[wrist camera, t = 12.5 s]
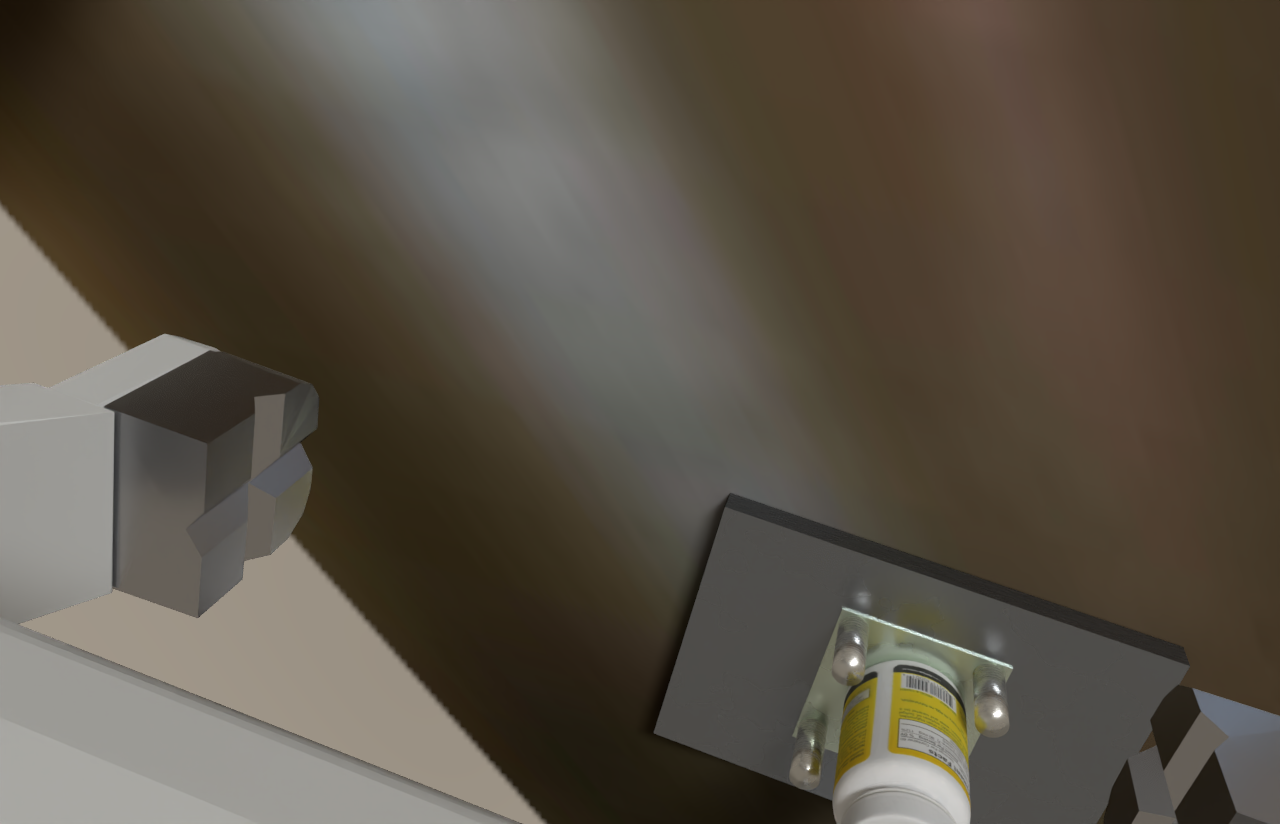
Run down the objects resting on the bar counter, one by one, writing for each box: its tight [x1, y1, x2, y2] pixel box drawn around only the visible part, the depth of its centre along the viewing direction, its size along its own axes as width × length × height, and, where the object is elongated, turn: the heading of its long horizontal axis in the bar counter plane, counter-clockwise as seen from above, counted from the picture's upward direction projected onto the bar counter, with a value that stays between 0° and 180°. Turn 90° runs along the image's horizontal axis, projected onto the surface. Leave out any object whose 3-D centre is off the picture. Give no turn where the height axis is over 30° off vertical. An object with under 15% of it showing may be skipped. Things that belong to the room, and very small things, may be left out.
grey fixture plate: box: [654, 493, 1190, 824], centre depth 42 cm, size 18×12×4 cm, turn 76°
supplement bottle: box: [833, 660, 971, 824], centre depth 39 cm, size 5×5×8 cm
